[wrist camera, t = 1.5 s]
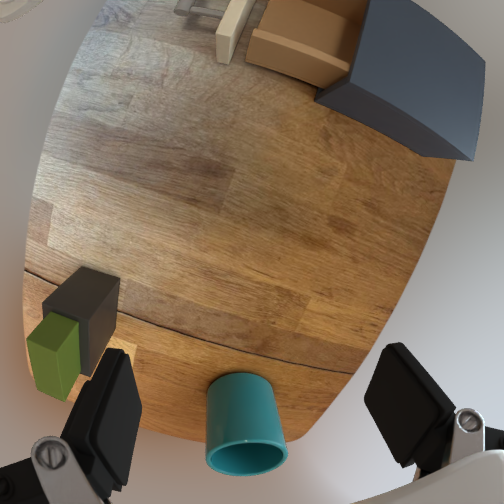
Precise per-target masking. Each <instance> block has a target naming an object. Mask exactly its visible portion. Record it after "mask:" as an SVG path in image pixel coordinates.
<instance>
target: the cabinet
mask: <svg viewBox="0 0 504 504" xmlns="http://www.w3.org/2000/svg"><path fill="white" fill-rule="evenodd" d="M484 83H485V61H484V60H483V59H482V58H481V57H480V56H479V55H478V54H477V53H476V52H475V51H474V50H473V49H472V48H471V47H470V46H469V45H468V44H467V43H466V42H464V41H463V40H462V39H461V38H460V37H459V36H458V35H456V34H455V33H454V32H453V31H452V30H450V29H449V28H448V27H447V26H446V25H444V24H443V23H442V22H440V21H439V20H438V19H437V18H435V17H434V16H433V15H431V14H430V13H429V12H427V11H426V10H424V9H423V8H422V7H420V6H419V5H417V4H416V3H414V2H413V1H411V0H367V4H366V8H365V12H364V16H363V20H362V24H361V28H360V32H359V36H358V40H357V43H356V47H355V51H354V55H353V58H352V62H351V66H350V69H349V73H348V76H347V77H345V78H343V79H342V80H340V81H338V82H337V83H335V84H333V85H332V86H330V87H328V88H327V89H322V88H320V87H318V91H317V94H316V97H315V100H314V102H316V103H319V104H321V105H323V106H326V107H328V108H331V109H333V110H335V111H337V112H340V113H342V114H344V115H346V116H348V117H351V118H353V119H355V120H357V121H359V122H361V123H363V124H365V125H367V126H369V127H371V128H373V129H375V130H377V131H379V132H381V133H383V134H384V135H386V136H388V137H390V138H392V139H394V140H395V141H397V142H399V143H401V144H402V145H404V146H406V147H408V148H409V149H411V150H413V151H414V152H416V153H418V154H419V155H421V156H423V157H436V158H447V159H457V160H466V161H474V156H475V151H476V146H477V140H478V135H479V128H480V122H481V114H482V106H483V96H484Z"/></svg>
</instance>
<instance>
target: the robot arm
mask: <svg viewBox="0 0 504 504" xmlns="http://www.w3.org/2000/svg"><path fill="white" fill-rule="evenodd" d="M12 1H14V0H0V3H2V4H6V3H10V2H12ZM364 402H365V404H366V406H367V408H368V410H369V412H370V414H371V416H372V417H373V419H374V421H375V423H376V425H377V427H378V429H379V431H380V432H381V434H382V436H383V438H384V440H385V442H386V443H387V445H388V448H389V449H390V451H391V453H392V455H393V457H394V459H395V461H396V462H397V463H400V465H401V467H402V468H405V467H407V466H410V465H413V464H414V463H416V465H417V468H416V472H415V475H414V479H413V482H411V483H409V484H407V485H404V486H402V487H399V488H397V489H394V490H391V491H389V492H386V493H383V494H380V495H377V496H374V497H372V498H368V499H365V500H362V501H358V502H355V503H352V504H504V431H503V430H498V429H494V428H490V427H486V426H485V423H484V419H483V417H482V416H481V415H480V414H479V413H478V412H477V411H475V410H473V409H469V408H464V409H461V410H459V411H458V412H457V413H456V414H455V413H454V410H455V409H456V407H455V406H454V404H453V403H452V402H451V400H450V399H449V398H448V397H447V395H446V394H445V393H444V392H443V390H442V389H441V388H440V387H439V385H438V384H437V383H436V382H435V381H434V379H433V378H432V377H431V376H430V375H429V374H428V372H427V371H426V370H425V369H424V367H423V366H422V365H421V364H420V363H419V362H418V360H417V359H416V358H415V357H414V356H413V355H412V353H411V352H410V351H409V350H408V349H407V348H406V347H405V345H404V344H403V343H400V342H398V343H392V344H388V345H387V346H386V347H385V348H384V349H383V350H382V352H381V355H380V358H379V361H378V363H377V366H376V369H375V371H374V374H373V376H372V379H371V381H370V384H369V386H368V389H367V391H366V393H365V396H364ZM141 413H142V404H141V400H140V397H139V393H138V390H137V386H136V382H135V378H134V374H133V370H132V366H131V361H130V357H129V355H128V354H125V353H124V350H122V349H115V348H107V349H106V350H105V352H104V354H103V356H102V358H101V360H100V362H99V364H98V366H97V369H96V371H95V373H94V375H93V377H92V379H91V381H89V380H87V381H86V382H85V383H84V385H83V387H82V389H81V391H80V393H79V395H78V397H77V400H76V402H75V404H74V406H73V408H72V411H71V413H70V415H69V418H68V420H67V422H66V424H65V427H64V429H63V431H62V434H61V436H60V438H59V437H55V436H47V437H43V438H41V439H39V440H38V441H37V442H35V444H34V445H33V447H32V450H31V457H30V458H27V459H24V460H22V461H19V462H16V463H13V464H10V465H8V466H4V467H1V468H0V504H113V503H112V502H111V500H110V499H109V497H110V496H111V491H112V490H115V491H119V492H121V489H122V485H123V486H126V485H127V482H128V476H129V471H130V466H131V460H132V455H133V450H134V445H135V441H136V435H137V431H138V427H139V422H140V418H141Z"/></svg>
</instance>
